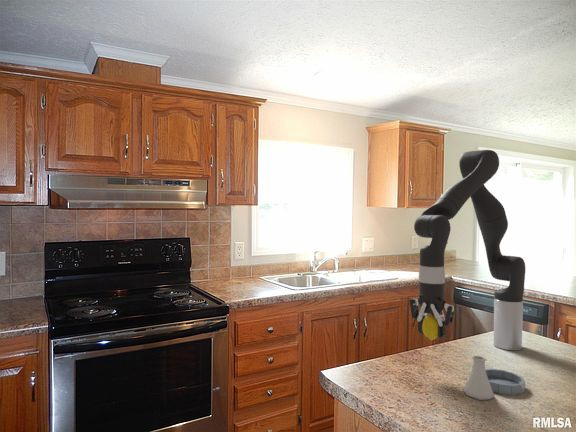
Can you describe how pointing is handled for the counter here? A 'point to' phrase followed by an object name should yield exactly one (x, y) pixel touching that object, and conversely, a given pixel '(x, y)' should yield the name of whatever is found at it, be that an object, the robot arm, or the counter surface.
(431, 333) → the lemon
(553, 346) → the counter surface
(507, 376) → the dish
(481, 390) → the flask
